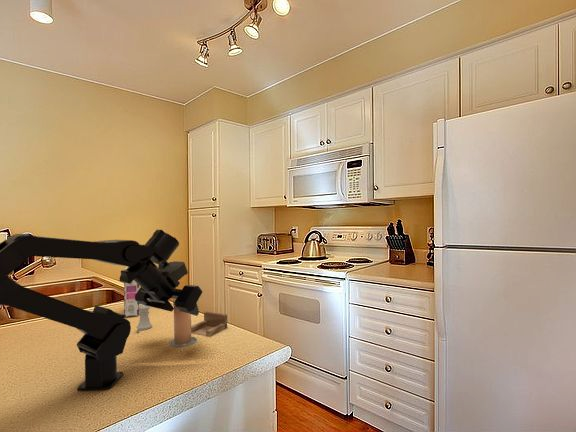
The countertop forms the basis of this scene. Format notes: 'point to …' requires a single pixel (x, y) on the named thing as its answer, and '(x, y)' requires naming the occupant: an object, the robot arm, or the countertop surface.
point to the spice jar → (181, 326)
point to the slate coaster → (193, 340)
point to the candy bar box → (130, 299)
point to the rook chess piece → (144, 318)
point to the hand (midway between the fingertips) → (184, 312)
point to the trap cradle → (210, 324)
